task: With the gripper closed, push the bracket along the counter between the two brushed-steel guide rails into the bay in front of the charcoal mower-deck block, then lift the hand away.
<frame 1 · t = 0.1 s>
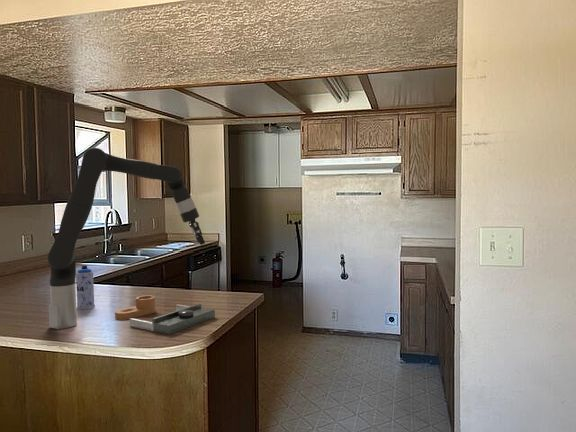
hand: (201, 243, 195), 31 cm above the counter, tool tilted 20°, fingers open, 8 cm apart
aerosol can: (85, 307, 208), on the counter
deck mount: (163, 319, 185), on the counter
bracket: (135, 315, 194), on the counter
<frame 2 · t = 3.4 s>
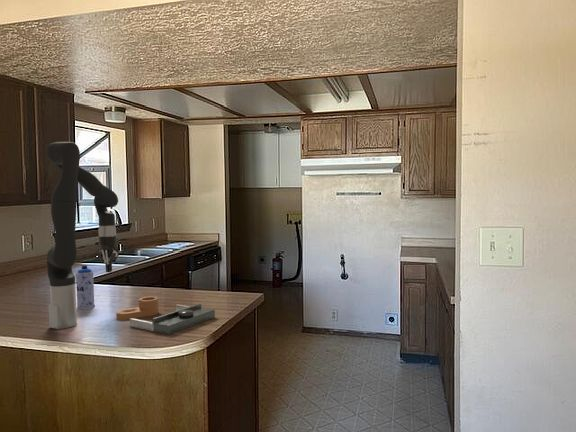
hand: (109, 271, 203), 18 cm above the counter, tool pointing down, fingers closed
bracket: (137, 316, 193), on the counter
everything else where it was.
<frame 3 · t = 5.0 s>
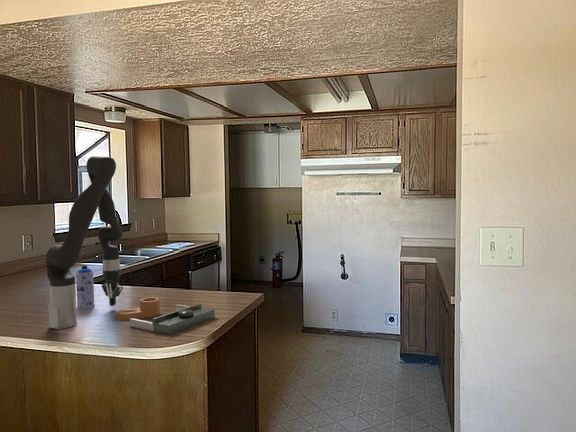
hand: (112, 305, 203), 2 cm above the counter, tool pointing down, fingers closed
bracket: (138, 316, 192), on the counter
everything else where it was.
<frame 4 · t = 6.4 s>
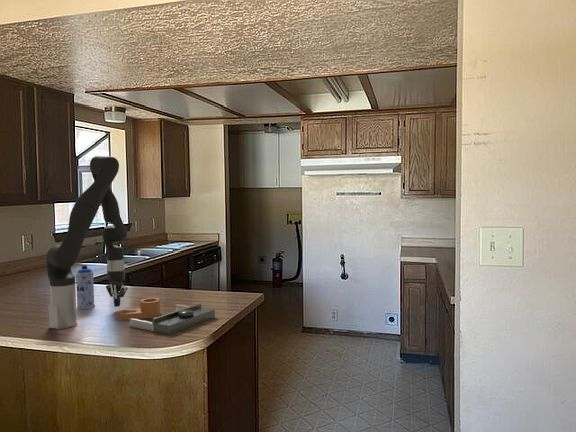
hand: (117, 306, 201), 2 cm above the counter, tool pointing down, fingers closed
bracket: (139, 317, 191), on the counter
everything else where it was.
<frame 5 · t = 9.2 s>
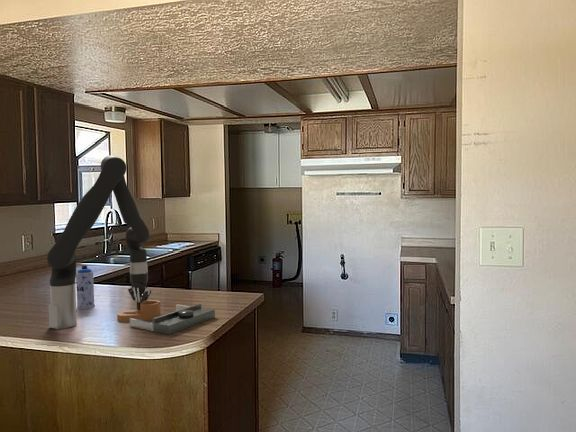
hand: (140, 310, 193), 2 cm above the counter, tool pointing down, fingers closed
bracket: (139, 319, 188), on the counter
everything else where it was.
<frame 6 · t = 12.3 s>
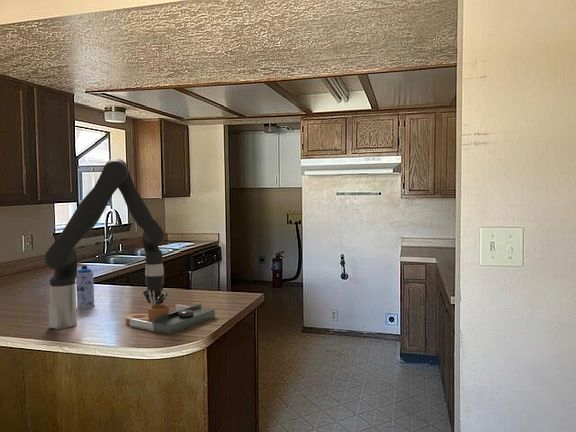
hand: (155, 313, 188), 2 cm above the counter, tool pointing down, fingers closed
bracket: (147, 323, 182), on the counter
everything else where it was.
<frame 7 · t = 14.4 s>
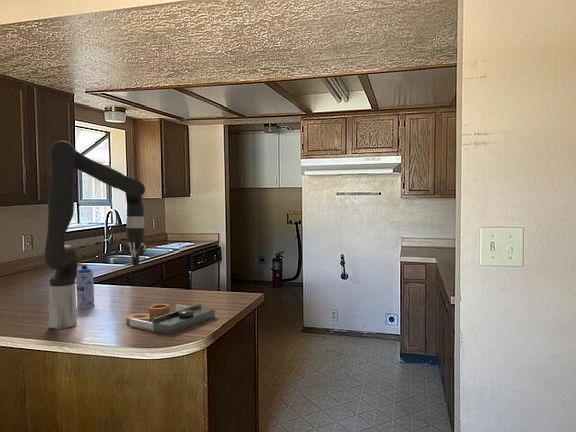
hand: (135, 265, 192), 22 cm above the counter, tool pointing down, fingers closed
nothing on the counter moved.
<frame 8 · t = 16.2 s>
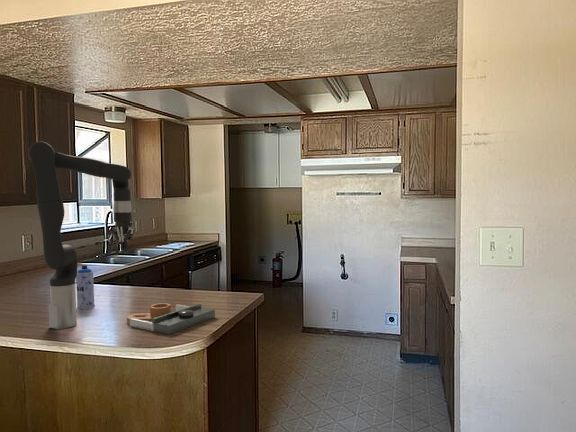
hand: (123, 250, 193), 29 cm above the counter, tool pointing down, fingers closed
at the end: bracket inside the target area (6.0 cm from its centre), on the counter; bracket moved 15.4 cm from its start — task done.
